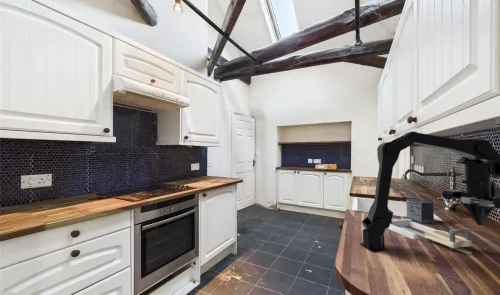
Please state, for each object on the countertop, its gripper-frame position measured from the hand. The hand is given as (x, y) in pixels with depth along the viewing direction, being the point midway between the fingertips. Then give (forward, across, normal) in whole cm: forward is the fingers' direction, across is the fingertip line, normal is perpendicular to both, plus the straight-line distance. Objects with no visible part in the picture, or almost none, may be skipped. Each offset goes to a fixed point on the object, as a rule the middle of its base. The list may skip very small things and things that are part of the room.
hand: (480, 225), depth 68 cm
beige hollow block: (+11, +10, 0) cm, 15 cm away
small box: (+11, +36, -18) cm, 42 cm away
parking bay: (+11, +18, 0) cm, 21 cm away
